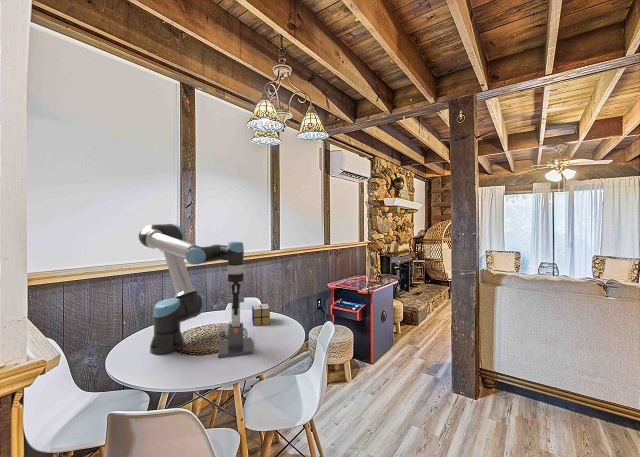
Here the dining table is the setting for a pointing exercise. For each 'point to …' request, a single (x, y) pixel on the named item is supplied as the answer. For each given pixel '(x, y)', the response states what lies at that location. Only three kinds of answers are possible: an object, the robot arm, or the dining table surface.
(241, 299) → the post
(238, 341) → the jack stand base
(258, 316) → the puzzle cube
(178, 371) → the dining table surface
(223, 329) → the bunny figurine
